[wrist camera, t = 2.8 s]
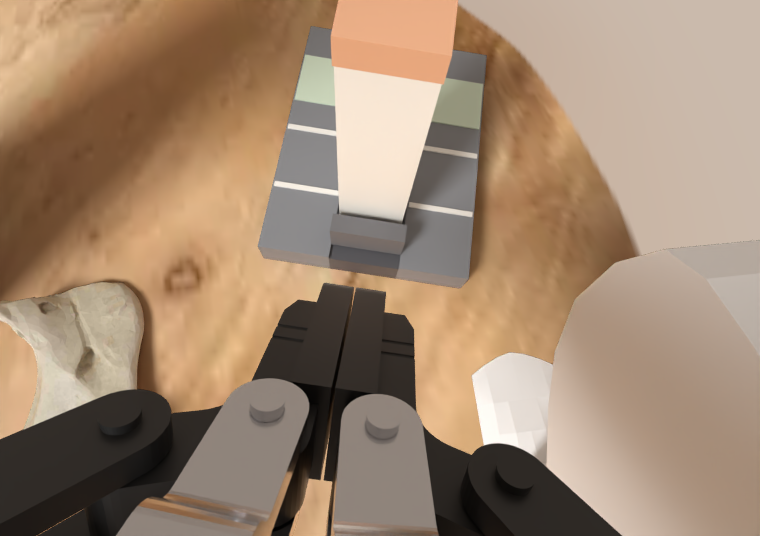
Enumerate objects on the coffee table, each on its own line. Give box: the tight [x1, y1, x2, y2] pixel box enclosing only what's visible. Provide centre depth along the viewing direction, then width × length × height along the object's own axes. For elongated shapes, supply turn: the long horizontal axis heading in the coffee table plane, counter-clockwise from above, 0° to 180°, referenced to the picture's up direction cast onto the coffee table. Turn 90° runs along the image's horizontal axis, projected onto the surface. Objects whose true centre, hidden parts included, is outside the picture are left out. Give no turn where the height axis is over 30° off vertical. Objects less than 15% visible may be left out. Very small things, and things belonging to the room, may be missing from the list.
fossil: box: [0, 282, 144, 430], centre depth 23 cm, size 7×11×3 cm, turn 15°
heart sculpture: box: [472, 240, 760, 536], centre depth 16 cm, size 16×5×18 cm, turn 7°
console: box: [258, 26, 487, 288], centre depth 28 cm, size 12×16×4 cm
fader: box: [331, 0, 458, 224], centre depth 20 cm, size 4×4×13 cm
